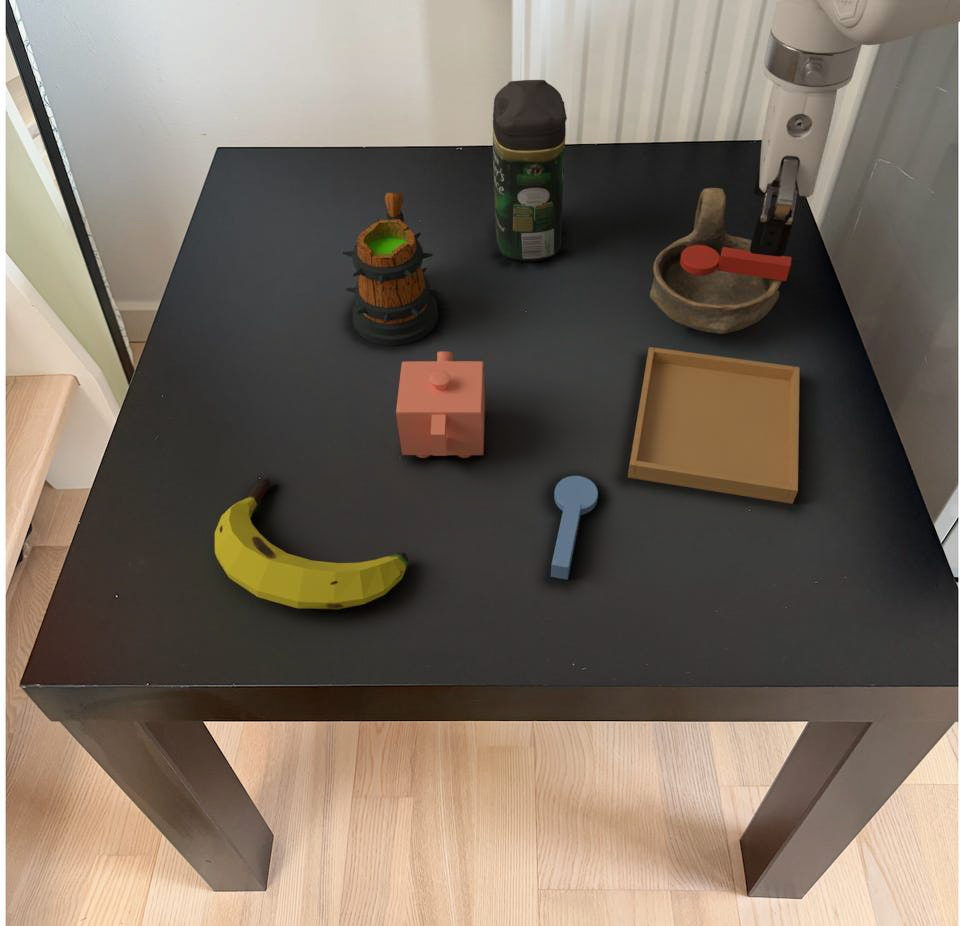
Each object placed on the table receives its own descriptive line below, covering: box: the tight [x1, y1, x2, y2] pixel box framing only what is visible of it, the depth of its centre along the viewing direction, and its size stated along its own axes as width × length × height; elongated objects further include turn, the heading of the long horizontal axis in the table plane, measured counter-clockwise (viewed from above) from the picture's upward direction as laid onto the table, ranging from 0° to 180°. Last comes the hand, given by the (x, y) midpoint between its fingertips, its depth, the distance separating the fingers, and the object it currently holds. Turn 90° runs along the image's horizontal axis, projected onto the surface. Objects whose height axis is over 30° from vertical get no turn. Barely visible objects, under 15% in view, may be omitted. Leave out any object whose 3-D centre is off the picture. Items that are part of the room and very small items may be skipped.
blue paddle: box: [550, 475, 599, 581], centre depth 82 cm, size 11×4×2 cm, turn 167°
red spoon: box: [680, 245, 793, 282], centre depth 94 cm, size 11×4×2 cm, turn 74°
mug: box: [342, 192, 440, 347], centre depth 98 cm, size 13×10×12 cm
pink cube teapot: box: [395, 351, 486, 459], centre depth 87 cm, size 8×12×8 cm, turn 178°
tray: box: [627, 346, 801, 505], centre depth 89 cm, size 15×16×2 cm
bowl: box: [649, 187, 783, 335], centre depth 98 cm, size 14×18×10 cm
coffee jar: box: [492, 79, 568, 262], centre depth 102 cm, size 10×8×19 cm
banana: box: [214, 478, 409, 610], centre depth 81 cm, size 5×17×15 cm
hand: (767, 223), depth 90 cm, fingers open, 9 cm apart
